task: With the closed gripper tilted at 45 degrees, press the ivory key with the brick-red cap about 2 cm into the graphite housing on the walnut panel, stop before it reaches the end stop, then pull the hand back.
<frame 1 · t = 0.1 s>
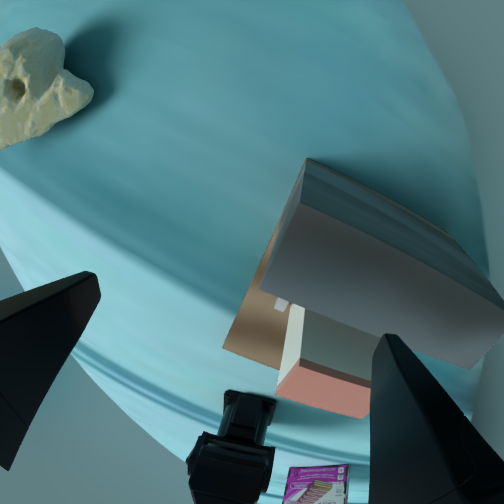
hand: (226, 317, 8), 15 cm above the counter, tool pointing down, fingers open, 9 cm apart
cheese: (45, 108, 21), on the counter
candy bar box: (319, 468, 42), on the counter
key panel: (349, 261, 22), on the counter
key: (334, 341, 18), point 6 cm above the counter, slide at 0.0 cm
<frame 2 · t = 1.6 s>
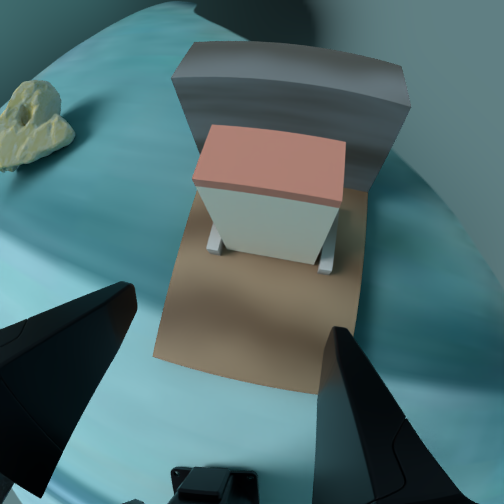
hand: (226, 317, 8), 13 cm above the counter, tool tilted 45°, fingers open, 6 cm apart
cheese: (31, 163, 28), on the counter
key panel: (281, 208, 23), on the counter
key: (273, 206, 16), point 6 cm above the counter, slide at 0.0 cm
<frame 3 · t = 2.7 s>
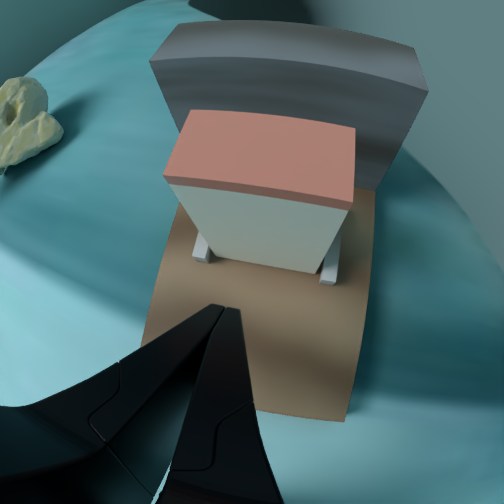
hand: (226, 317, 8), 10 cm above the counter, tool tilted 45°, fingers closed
cheese: (18, 165, 25), on the counter
key panel: (277, 209, 20), on the counter
key: (267, 208, 13), point 6 cm above the counter, slide at 0.0 cm
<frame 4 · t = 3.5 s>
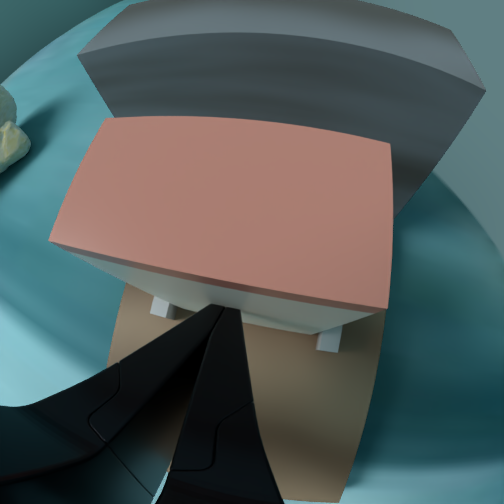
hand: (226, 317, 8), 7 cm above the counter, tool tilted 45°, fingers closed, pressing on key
key panel: (265, 244, 16), on the counter
key: (240, 262, 9), point 6 cm above the counter, slide at 0.1 cm, touching gripper
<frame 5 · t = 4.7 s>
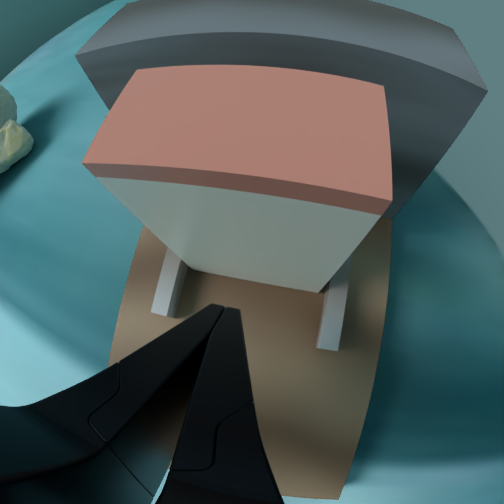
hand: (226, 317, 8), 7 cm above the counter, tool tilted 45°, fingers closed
key panel: (265, 242, 16), on the counter
key: (252, 208, 10), point 6 cm above the counter, slide at 2.0 cm
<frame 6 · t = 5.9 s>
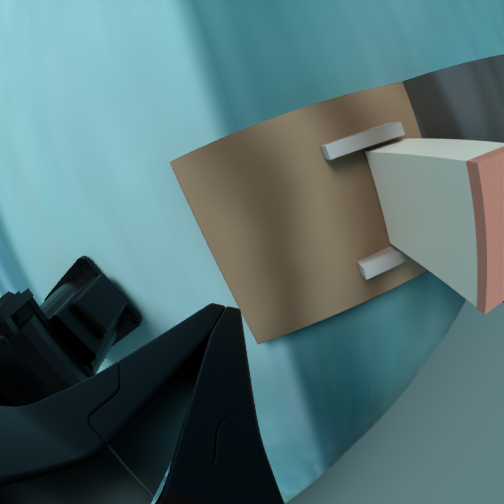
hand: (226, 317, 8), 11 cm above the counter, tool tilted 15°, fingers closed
key panel: (398, 182, 18), on the counter
key: (443, 206, 12), point 6 cm above the counter, slide at 2.0 cm
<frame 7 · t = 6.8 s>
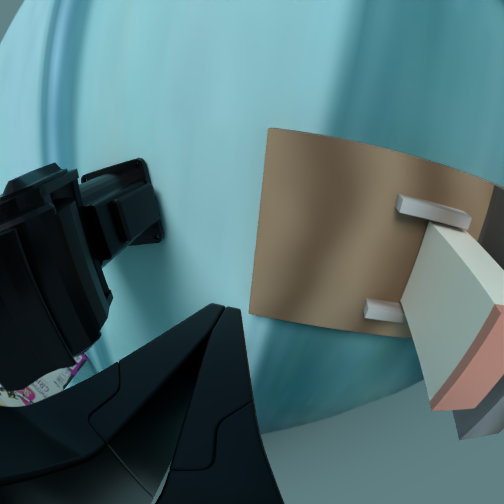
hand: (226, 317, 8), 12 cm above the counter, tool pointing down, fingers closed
candy bar box: (57, 330, 33), on the counter
key panel: (437, 257, 18), on the counter
key: (457, 308, 13), point 6 cm above the counter, slide at 2.0 cm
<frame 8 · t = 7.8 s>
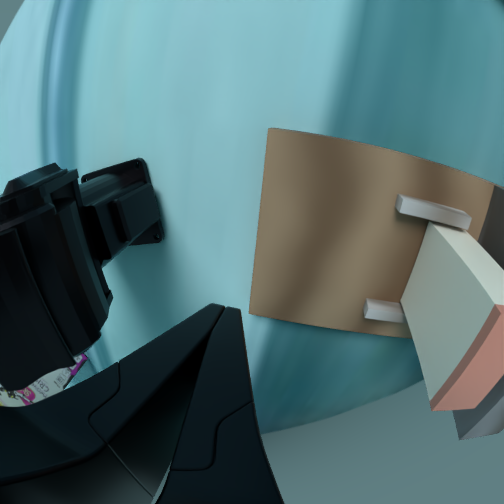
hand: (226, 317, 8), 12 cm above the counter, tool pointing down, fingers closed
candy bar box: (57, 330, 33), on the counter
key panel: (437, 257, 18), on the counter
key: (457, 308, 13), point 6 cm above the counter, slide at 2.0 cm
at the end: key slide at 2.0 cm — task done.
